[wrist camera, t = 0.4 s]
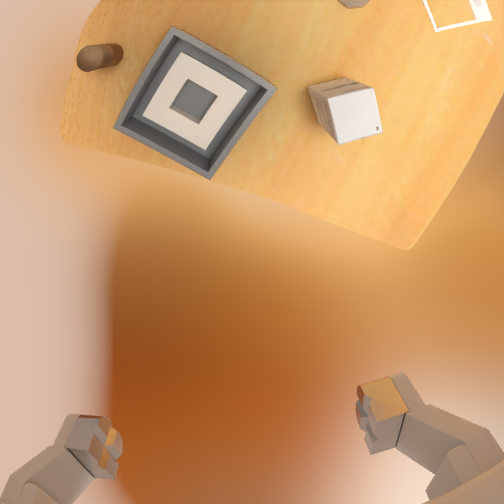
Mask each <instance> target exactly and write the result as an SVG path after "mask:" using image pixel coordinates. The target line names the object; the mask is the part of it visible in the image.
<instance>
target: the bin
mask: <svg viewBox="0 0 504 504" xmlns="http://www.w3.org/2000/svg"><path fill="white" fill-rule="evenodd" d="M276 90H277V88H276V87H275V86H274V85H273V84H272V83H270V82H269V81H267V80H266V79H264V78H263V77H261V76H260V75H258V74H257V73H255V72H254V71H252V70H251V69H249V68H247V67H246V66H244V65H243V64H241V63H239V62H238V61H236V60H235V59H233V58H231V57H230V56H228V55H226V54H225V53H223V52H221V51H219V50H218V49H216V48H214V47H212V46H211V45H209V44H207V43H205V42H204V41H202V40H200V39H198V38H196V37H194V36H192V35H191V34H189V33H187V32H185V31H183V30H181V29H179V28H176V27H173V26H172V27H171V29H170V30H169V32H168V33H167V35H166V36H165V38H164V39H163V41H162V42H161V44H160V45H159V47H158V48H157V50H156V51H155V53H154V55H153V56H152V58H151V59H150V61H149V63H148V64H147V66H146V68H145V69H144V71H143V73H142V74H141V76H140V78H139V80H138V81H137V83H136V85H135V87H134V89H133V90H132V92H131V94H130V96H129V98H128V100H127V101H126V103H125V105H124V107H123V109H122V111H121V113H120V115H119V117H118V119H117V121H116V123H115V125H114V127H113V128H114V129H116V130H118V131H120V132H122V133H124V134H126V135H128V136H130V137H131V138H133V139H135V140H137V141H139V142H141V143H143V144H145V145H147V146H149V147H150V148H152V149H154V150H156V151H158V152H160V153H162V154H163V155H165V156H167V157H169V158H171V159H173V160H175V161H176V162H178V163H180V164H182V165H184V166H185V167H187V168H189V169H191V170H193V171H195V172H196V173H198V174H200V175H202V176H204V177H205V178H207V179H209V180H211V178H212V177H213V175H214V174H215V172H216V171H217V170H218V168H219V167H220V165H221V164H222V162H223V161H224V160H225V158H226V157H227V155H228V154H229V153H230V151H231V150H232V148H233V147H234V146H235V144H236V143H237V141H238V140H239V139H240V137H241V136H242V135H243V133H244V132H245V130H246V129H247V128H248V126H249V125H250V124H251V122H252V121H253V120H254V118H255V117H256V116H257V114H258V113H259V112H260V110H261V109H262V108H263V106H264V105H265V104H266V103H267V101H268V100H269V99H270V97H271V96H272V95H273V94H274V92H275V91H276Z"/></svg>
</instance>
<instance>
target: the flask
mask: <svg viewBox="0 0 504 504" xmlns="http://www.w3.org/2000/svg"><path fill="white" fill-rule="evenodd" d="M338 1H340V2H341V3H342V4H343V5H344V6H346V7H347V8H357V7H363V6H364V5H365V4H366V3H367V2H368V1H369V0H338Z"/></svg>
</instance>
